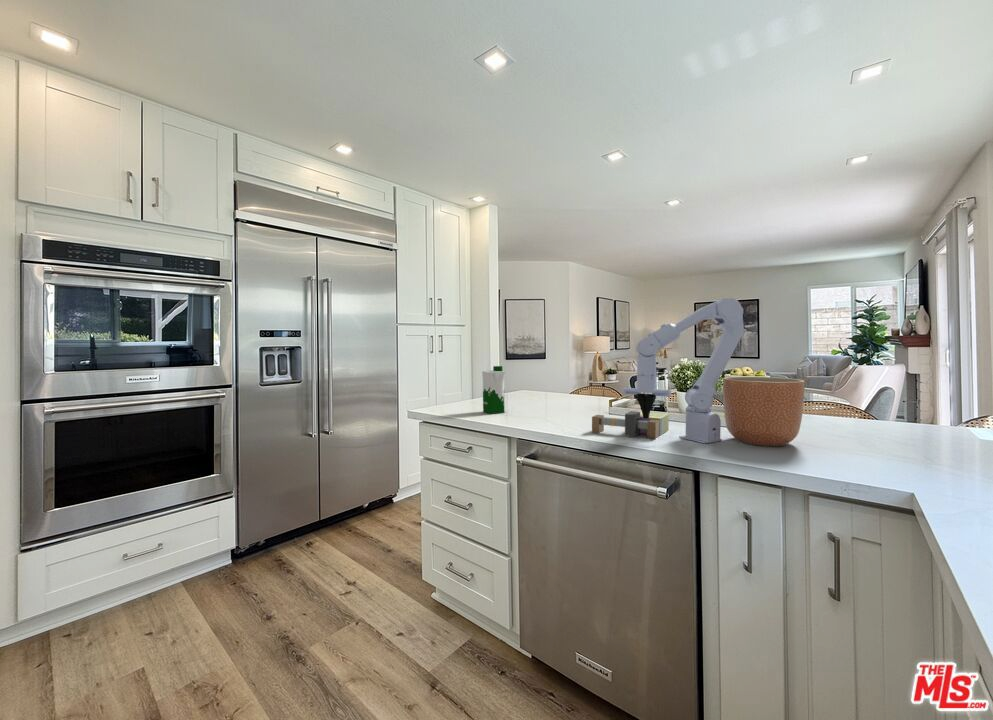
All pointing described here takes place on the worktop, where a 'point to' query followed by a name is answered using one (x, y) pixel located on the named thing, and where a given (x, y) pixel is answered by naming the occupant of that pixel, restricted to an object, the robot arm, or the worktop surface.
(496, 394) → the milk carton
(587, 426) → the worktop surface
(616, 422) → the pipe rig
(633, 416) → the collar
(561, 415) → the worktop surface
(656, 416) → the box
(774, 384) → the planter
